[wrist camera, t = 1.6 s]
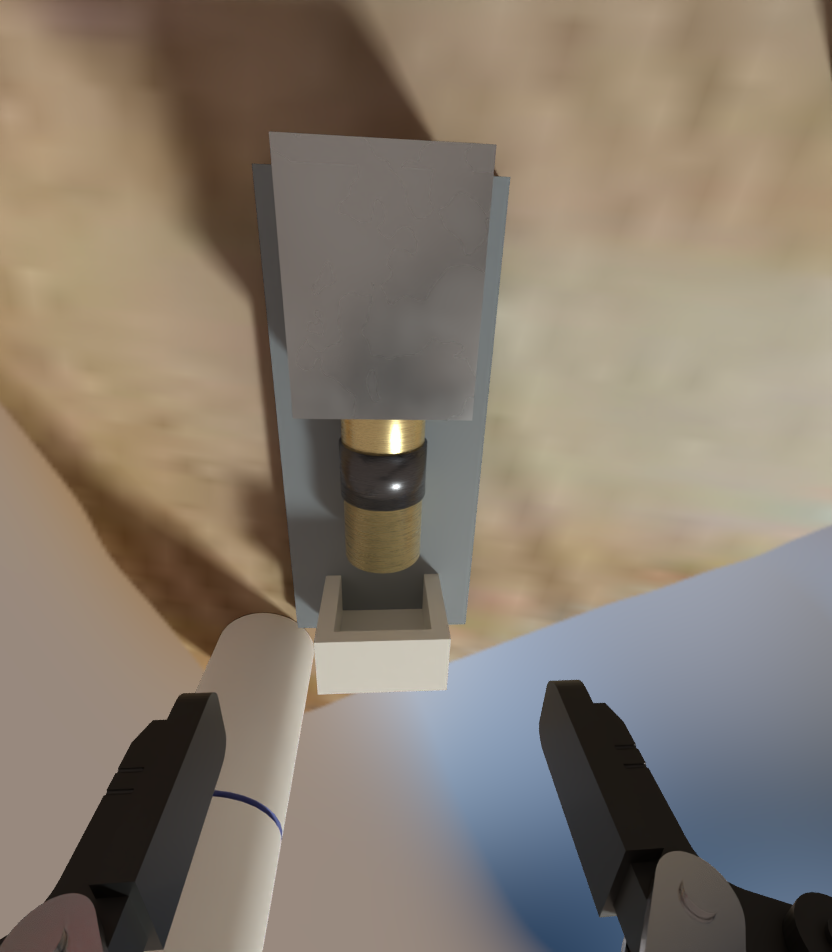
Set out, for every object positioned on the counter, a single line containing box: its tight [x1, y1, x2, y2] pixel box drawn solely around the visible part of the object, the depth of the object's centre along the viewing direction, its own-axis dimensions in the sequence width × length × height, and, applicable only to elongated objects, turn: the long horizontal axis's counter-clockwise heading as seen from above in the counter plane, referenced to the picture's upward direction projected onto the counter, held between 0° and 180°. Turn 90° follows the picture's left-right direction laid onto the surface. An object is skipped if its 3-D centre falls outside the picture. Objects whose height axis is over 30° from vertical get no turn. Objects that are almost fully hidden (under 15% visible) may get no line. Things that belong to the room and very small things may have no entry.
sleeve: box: [269, 132, 496, 421], centre depth 20 cm, size 10×8×7 cm
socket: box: [314, 574, 451, 694], centre depth 29 cm, size 4×8×6 cm, turn 88°
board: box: [252, 164, 510, 628], centre depth 27 cm, size 28×12×2 cm, turn 178°
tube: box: [339, 419, 427, 573], centre depth 23 cm, size 18×5×5 cm, turn 178°
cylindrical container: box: [144, 613, 314, 952], centre depth 23 cm, size 7×7×25 cm
